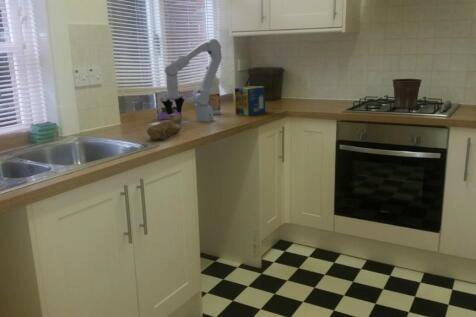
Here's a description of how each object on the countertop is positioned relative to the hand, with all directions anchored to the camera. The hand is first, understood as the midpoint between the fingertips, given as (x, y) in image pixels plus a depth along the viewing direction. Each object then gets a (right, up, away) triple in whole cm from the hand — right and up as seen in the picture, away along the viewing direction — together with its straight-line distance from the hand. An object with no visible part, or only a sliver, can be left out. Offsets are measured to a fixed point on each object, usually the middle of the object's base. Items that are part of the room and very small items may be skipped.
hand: (174, 113), depth 238 cm
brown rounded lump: (0, -15, -32) cm, 35 cm away
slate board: (-3, -6, 0) cm, 7 cm away
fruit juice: (+19, +3, +34) cm, 39 cm away
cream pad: (-9, -6, -1) cm, 11 cm away
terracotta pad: (-5, -4, +6) cm, 9 cm away
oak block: (0, -5, +1) cm, 5 cm away
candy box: (-6, -2, +19) cm, 20 cm away
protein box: (+41, +3, +28) cm, 50 cm away
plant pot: (+133, +6, +26) cm, 135 cm away
